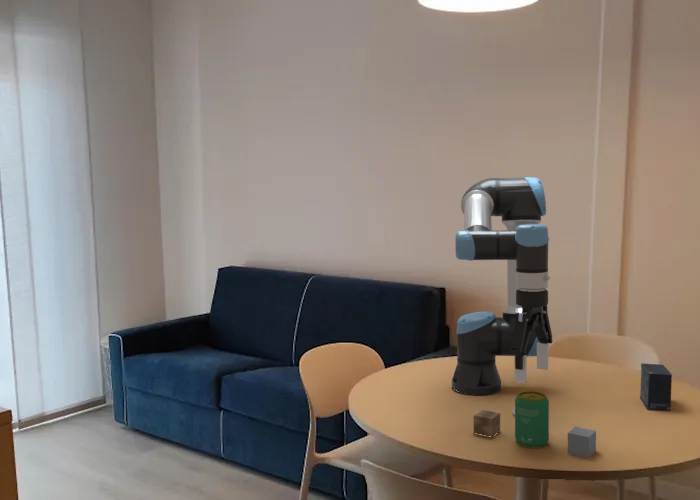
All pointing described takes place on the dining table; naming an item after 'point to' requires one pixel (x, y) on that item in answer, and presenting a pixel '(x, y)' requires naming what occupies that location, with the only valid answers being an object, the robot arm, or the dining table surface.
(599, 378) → the dining table surface
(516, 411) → the beverage can
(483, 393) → the robot arm
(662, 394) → the small box
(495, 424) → the walnut block
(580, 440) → the slate block
